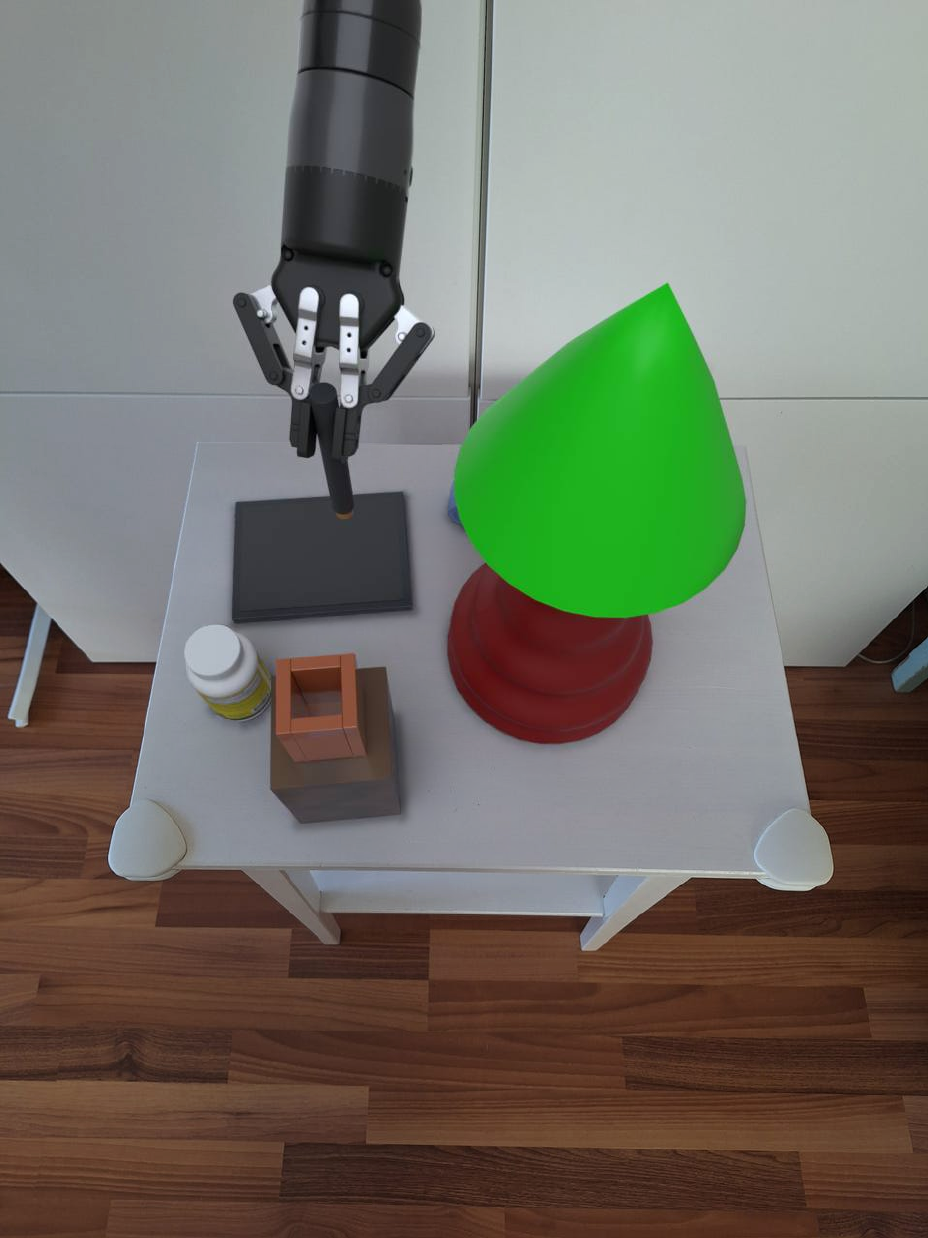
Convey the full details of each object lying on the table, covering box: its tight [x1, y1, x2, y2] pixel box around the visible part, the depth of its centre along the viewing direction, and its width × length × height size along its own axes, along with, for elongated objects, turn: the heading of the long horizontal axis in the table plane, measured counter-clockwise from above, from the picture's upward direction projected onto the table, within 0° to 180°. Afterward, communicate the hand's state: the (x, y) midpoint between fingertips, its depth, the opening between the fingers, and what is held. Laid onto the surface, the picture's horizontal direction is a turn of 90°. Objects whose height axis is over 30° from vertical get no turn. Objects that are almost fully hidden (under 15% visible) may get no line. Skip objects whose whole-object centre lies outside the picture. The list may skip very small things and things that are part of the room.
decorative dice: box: [447, 480, 463, 526], centre depth 82 cm, size 4×4×4 cm
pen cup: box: [275, 652, 367, 763], centre depth 55 cm, size 5×5×8 cm
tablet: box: [231, 491, 413, 624], centre depth 80 cm, size 18×14×1 cm
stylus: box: [309, 381, 354, 519], centre depth 56 cm, size 2×2×14 cm
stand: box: [269, 666, 401, 825], centre depth 65 cm, size 9×9×14 cm
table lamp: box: [446, 282, 747, 745], centre depth 57 cm, size 20×20×45 cm
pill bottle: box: [183, 624, 272, 723], centre depth 69 cm, size 6×6×11 cm
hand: (323, 458), depth 53 cm, fingers closed on stylus, 2 cm apart
